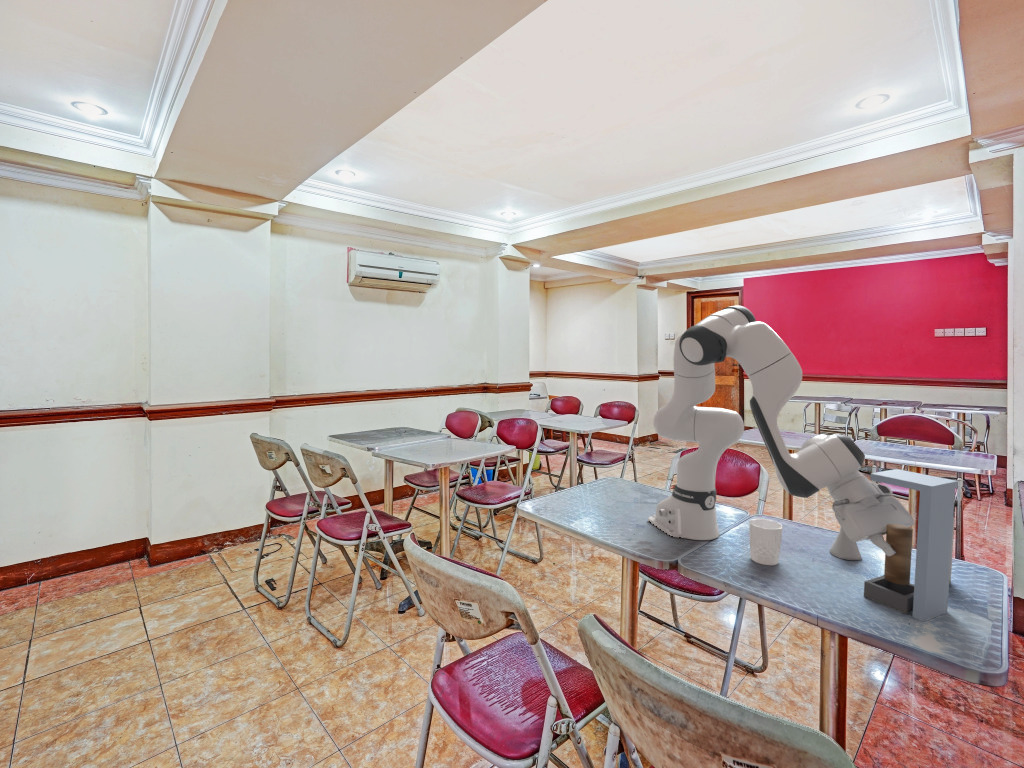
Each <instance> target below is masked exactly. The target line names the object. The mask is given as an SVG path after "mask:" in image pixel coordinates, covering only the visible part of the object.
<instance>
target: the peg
mask: <svg viewBox="0 0 1024 768" xmlns="http://www.w3.org/2000/svg"><path fill="white" fill-rule="evenodd" d="M913 531H914V530H913V528H911V526H910V527H907V526H904V525H899V524H887V532H886V536H885V541H886V542H887V543H888V544H889V545H893V546H894V548H895V549H896V550H897V554H895V555H892V556H887V555H886V554H885V553H884V554H885V555H884V571H883V572H884V573H883V575H884V578H885V579H886V580H888V581H890V582H892V583H896V584H901V585H908V584H910V583H911V570H912V569H911V566H912V565H911V564H912V553H913V551H912V550H913V549H912V546H913Z"/></svg>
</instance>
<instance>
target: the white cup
mask: <svg viewBox="0 0 1024 768" xmlns="http://www.w3.org/2000/svg"><path fill="white" fill-rule="evenodd" d="M748 525H749V527H748V530H749V531H748V532H749V549H750V550H749V551H750V554H749V555H750V560H752V562H755V563H757V564H759V565H764V566H776V565H778V564H779V562H780V561H779V560H780V554H781V547H782V546H781V545H782V539H783V536H782V535H783V528H784V526H783V525H782V523H780V522H778V521H775V520H771V519H765V518H754V519H753V518H752V519H750V520H749V523H748Z"/></svg>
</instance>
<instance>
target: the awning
mask: <svg viewBox="0 0 1024 768" xmlns="http://www.w3.org/2000/svg"><path fill="white" fill-rule="evenodd" d="M869 481H872V482H876V483H877V482H879V483H882V484H887V485H891V486H897V487H901V488H904V489H905V488H906V489H908V490H914V491H918V492H919V499H918V500H919V501H918V502H919V504H918V505H919V506H918V516H917V517H918V519H917V520H918V522H917V534H916V535H917V538H916V551H915V552H916V554H915V566H914V567H915V572H914V600H913V612H912V617H913V618H915V619H917V620H919V621H922V622H926V621H929V620H931V619H933V618H935V617H938V616H941V615H943V614H946V613H948V606H949V605H948V604H949V591H950V584H949V578H950V562H951V547H952V531H953V516H954V513H955V512H954V503H955V501H956V500H955V498H956V497H955V496H956V489H958V488H959V480H954V479H950V478H945V477H940V476H933V475H929V474H924V473H919V472H914V471H909V470H903V469H898V468H895V469H894V468H893V469H890V470H883V471H878V472H877V471H876V472H872V473H870V480H869Z"/></svg>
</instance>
